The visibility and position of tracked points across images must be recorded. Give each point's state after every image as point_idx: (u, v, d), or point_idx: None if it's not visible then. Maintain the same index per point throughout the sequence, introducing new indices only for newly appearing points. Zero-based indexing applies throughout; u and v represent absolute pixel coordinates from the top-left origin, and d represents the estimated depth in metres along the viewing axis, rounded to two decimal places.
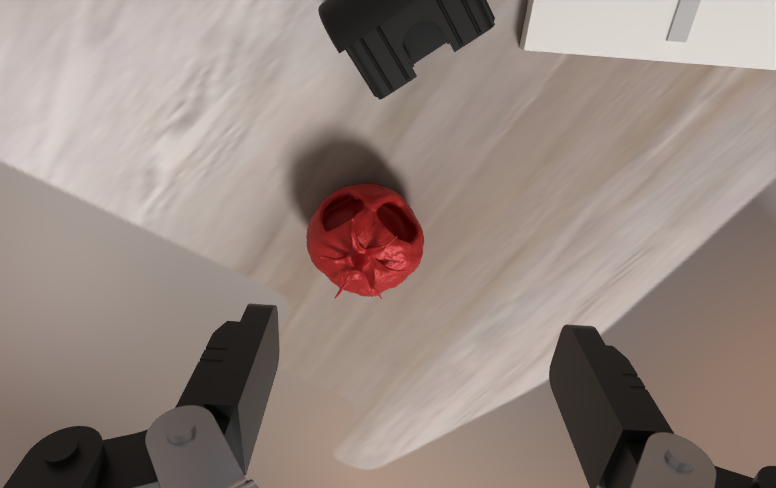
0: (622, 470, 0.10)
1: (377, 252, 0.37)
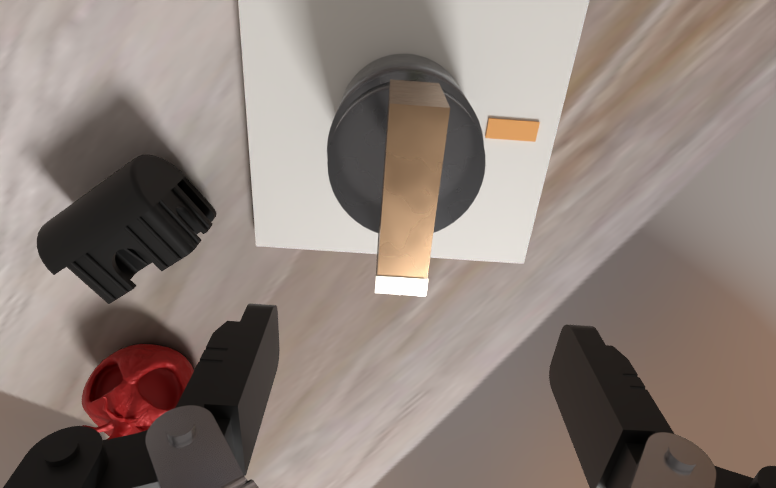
0: (622, 470, 0.10)
1: (133, 423, 0.41)
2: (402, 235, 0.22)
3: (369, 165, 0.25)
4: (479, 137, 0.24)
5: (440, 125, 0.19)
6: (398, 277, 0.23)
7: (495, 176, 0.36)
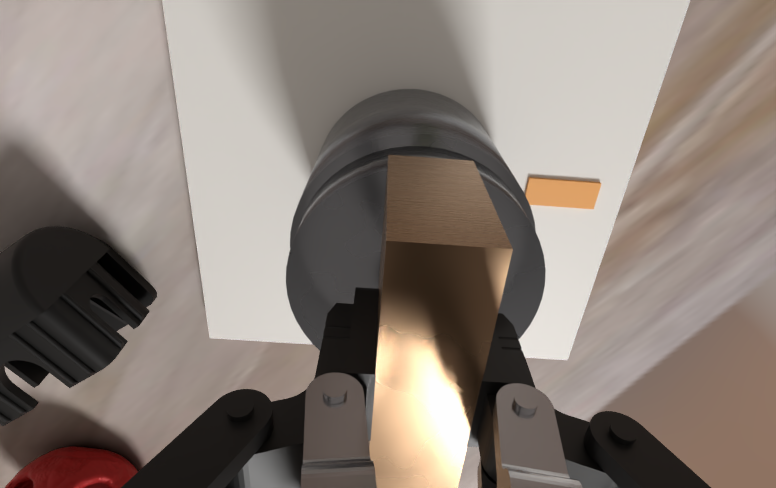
0: (484, 419, 0.11)
1: None
2: (410, 450, 0.12)
3: (355, 285, 0.15)
4: (537, 244, 0.15)
5: (489, 279, 0.09)
6: None
7: None
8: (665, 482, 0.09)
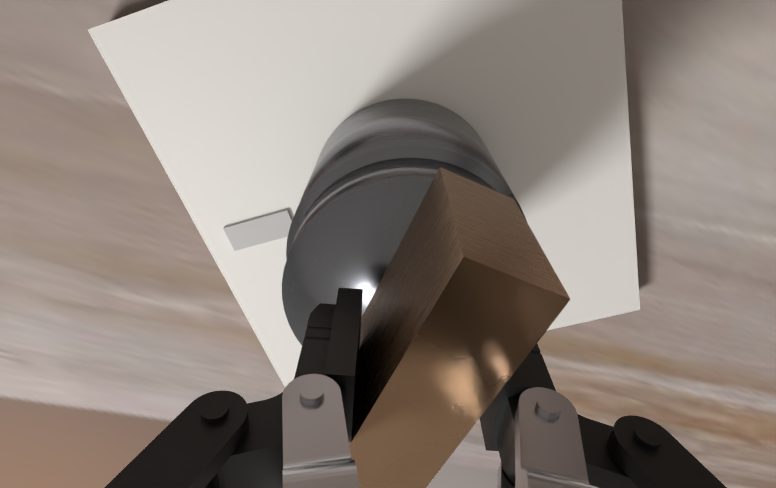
0: (505, 423, 0.11)
1: None
2: (388, 458, 0.12)
3: (355, 279, 0.15)
4: None
5: (537, 320, 0.10)
6: None
7: None
8: None
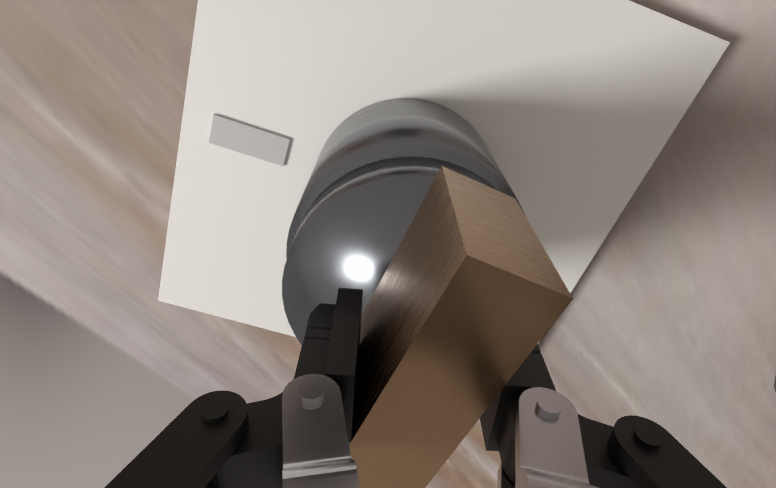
0: (505, 423, 0.11)
1: None
2: (388, 457, 0.12)
3: (355, 278, 0.15)
4: None
5: (539, 319, 0.10)
6: None
7: None
8: None
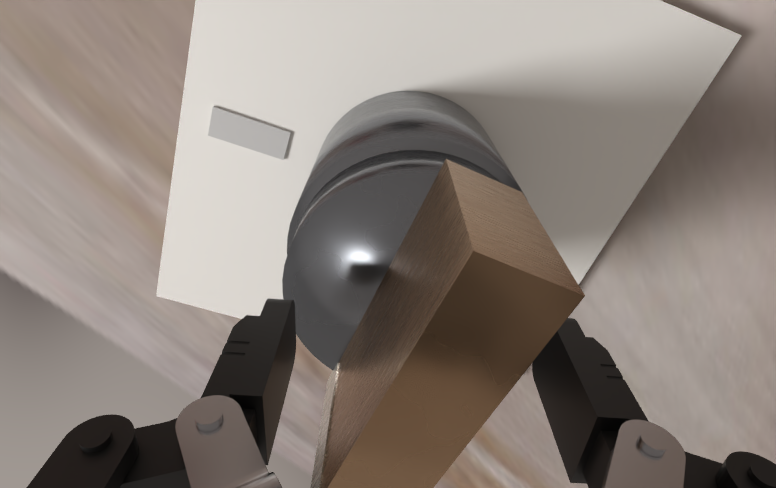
0: (597, 457, 0.10)
1: None
2: (392, 460, 0.11)
3: (358, 275, 0.15)
4: None
5: (549, 317, 0.09)
6: None
7: None
8: None
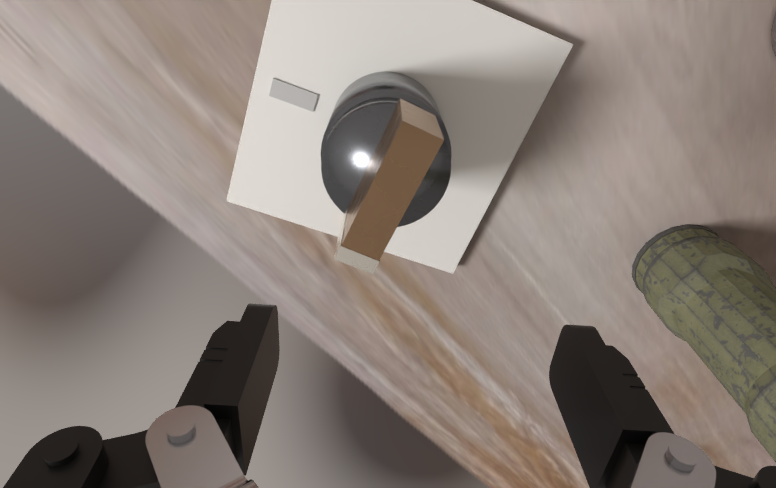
0: (622, 470, 0.10)
1: None
2: (373, 221, 0.27)
3: (358, 157, 0.30)
4: (449, 166, 0.31)
5: (432, 149, 0.25)
6: (357, 252, 0.28)
7: (318, 192, 0.42)
8: None
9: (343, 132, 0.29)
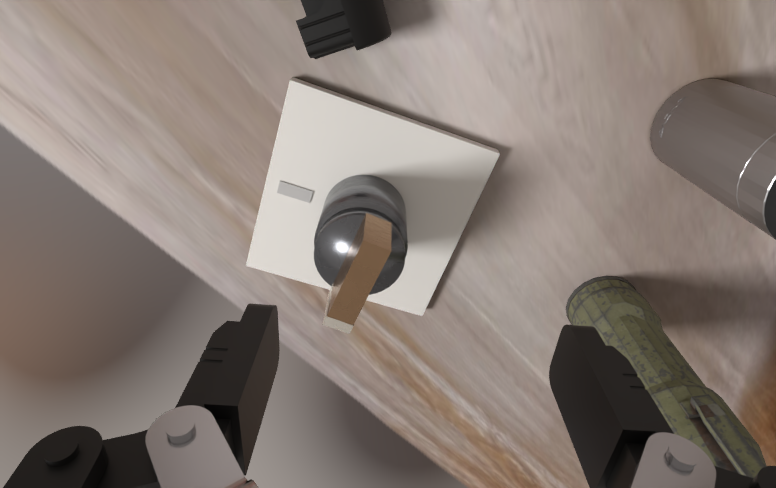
0: (622, 470, 0.10)
1: None
2: (347, 300, 0.40)
3: (339, 250, 0.43)
4: (404, 254, 0.44)
5: (384, 256, 0.38)
6: (337, 319, 0.41)
7: None
8: None
9: (328, 234, 0.42)
